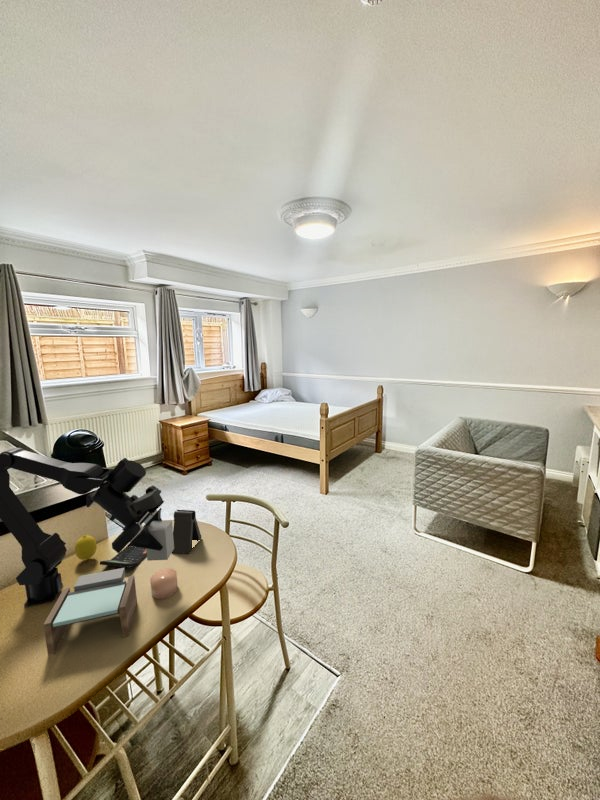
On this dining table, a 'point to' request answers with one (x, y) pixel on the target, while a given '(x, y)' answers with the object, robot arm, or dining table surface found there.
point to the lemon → (85, 547)
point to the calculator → (127, 557)
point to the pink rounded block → (164, 583)
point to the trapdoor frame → (56, 633)
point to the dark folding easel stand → (185, 531)
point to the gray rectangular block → (161, 539)
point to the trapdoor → (93, 597)
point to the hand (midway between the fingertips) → (165, 543)
